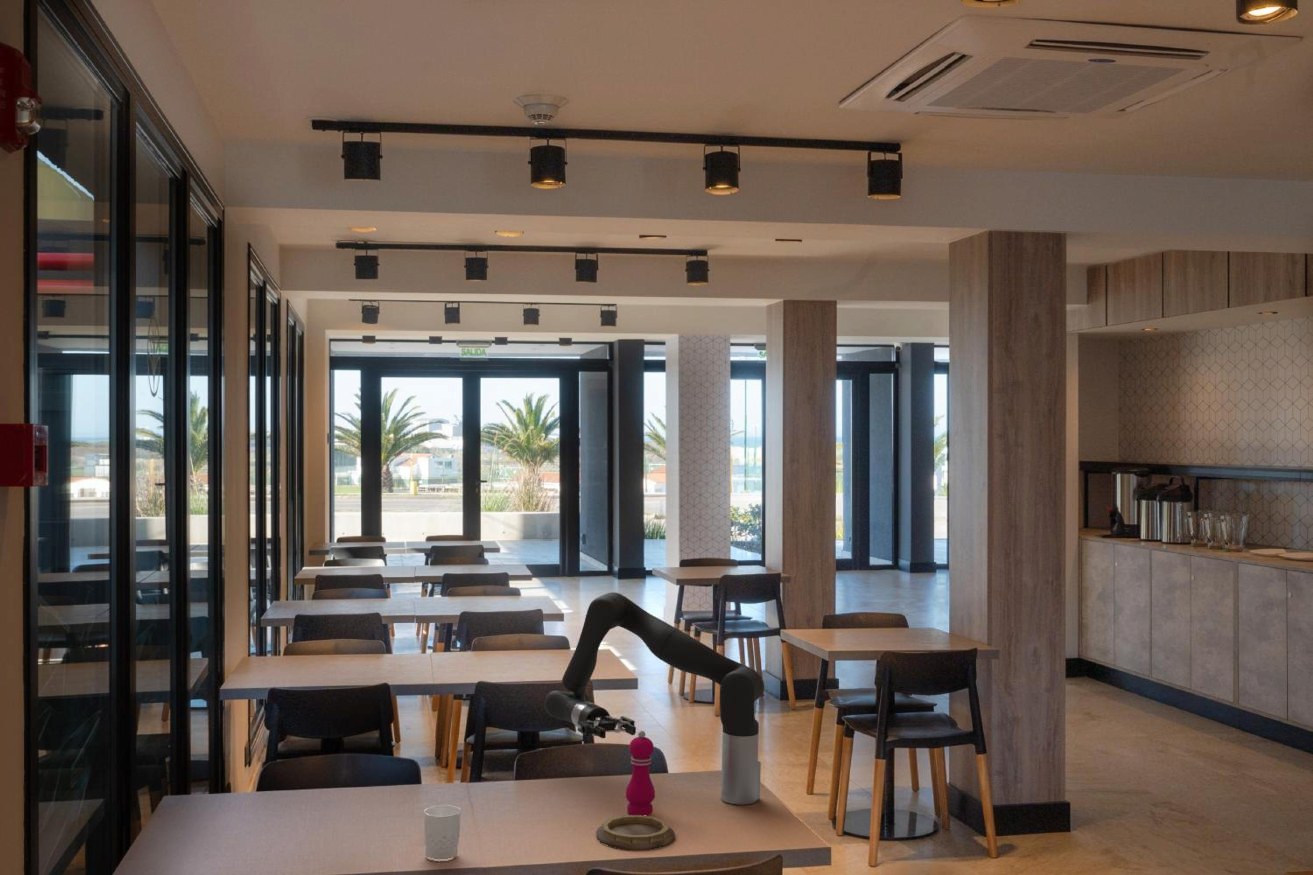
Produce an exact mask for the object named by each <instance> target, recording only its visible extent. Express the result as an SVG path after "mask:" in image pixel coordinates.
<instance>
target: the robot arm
mask: <svg viewBox="0 0 1313 875" xmlns="http://www.w3.org/2000/svg"><path fill="white" fill-rule="evenodd" d="M617 627H621V628H622V629H625V630H627V631H628V632H630V633H632V634H634V635H636V636H637V637H638V638H640V640H642V642H643V643H644V644H645V646H646V647H647V648H648V650H649V651H650V652H651V653H652V654H653V655H654V656H655V657H656V659H657V658H658V659H659V660H660V661H662V662H664V663H666V664H667V665H669V666H671V667H673V668H675V669H677V670H679V671H682V672H684V673H687V674H691V675H696V676H700V677H702V678H705V679H708V680H710V681H713V682H714V683H716V684H717V685H719V686H720V688H719V689H720V690H719V716H720V717H719V718H720V722H721V725H722V736H721V739H722V740H721V741H722V742H721V744H722V745H721V746H722V747H721V749H722V750H721V783H720V784H721V786H720V787H721V790H720V795H721V797H720V799H721V801H722V802H724V803H728V804H732V805H750V804H751V805H752V804H754V803H756V802H757V801H758V800H760V799H761V773H762V772H761V770H762V768H761V766H762V765H761V764H762V762H761V761H759V738H760V737H759V734H760V733H759V732H760V729H759V728H760V725H759V721H758V720H757V719H756V718H755V717H756V716H755V702H756V701H757V700H758V699H760V698H761V696H762V695H763V693H764V691H765V683H764V680H763V677H762V676H761V675H760V674H759V672H758V671H757V670H755V669H754V668H752V667H750V666H748V665H745V664H743V663H740V662H738V661H736V660H734V659H731V658H730V657H729V658H728V657H726V656H724V655H723V654H720V653H719V652H718V651H716V650H715V649H713V648H711V647H709V646H708V645H706V644H705V643H703V642H701V641H700V640H697V639H695V638H694V637H693V636H691V635H689V634H687V633H686V632H684V631H682V630H680V629H678V628H677V627H675V626H672V625H671V624H670V623H667V622H666V621H664V620H662V619H660V618H658V617H656V616H654V615H653V614H651V613H650V612H647V610H645V609H643V608H642V607H640V606H639V605H638V604H636V603H635V602H633V601H632V600H630V599H629V598H628V597H627V596H625V595H624V594H622V593H620V592H619V593H618V592H616V591H615V592H613V591H612V592H607V593H604V594H603V595H600V596H597V597H595V598H594V599H593V600H592V601H591V602H590V603H589V606H588V608H587V611H586V614H585V618H584V623H583V625H582V629H581V633H580V636H579V639H578V642H577V645H576V646H575V650H574V652H573V654H572V656H571V659H570V660H569V663H568V665H567V667H566V669H565V672H564V674H563V677H562V678H561V684H562V686H563V687H564V688H565V689H566V690H568V691H563V690H552V691H550V692H548V694H547V695H546V697H545V699H544V703H543V704H544V710H545V711H546V713H547V715H549V716H550V717H552V718H554V719H559V720H563V721H566V722H569V724H572V725H574V726H575V727H577V732H579V733H581V734H582V735H583V736H586V737H588V736H590V735H591V736H593V737H599V738H601V739H606V735H607V734H606V733H610V732H611V733H618V734H620V733H621V732H623V733H627V734H628V735H631V736H635V735H636V733H637V727H636V726H635V724H636V721H635V720H633V719H631V718H628V717H627V716H623V715H622V716H620V717H619V718H618V717H612V715H611V714H610V713H609V711H608V710H607V709H605V708H604V707H601V706H599V705H598V704H595V703H593V702H592V701H591V702H590V701H588V700H585V695H586V689H587V686H588V684H589V682H590V679H591V678H592V676H593V673H594V671H595V670H596V666H597V661H598V660H597V659H598V652H599V648H600V646H601V643H602V642H603V639H604V638H605V636H606V635H607V634H608V633H609V632H610V630H612V629H614V628H617Z"/></svg>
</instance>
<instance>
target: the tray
mask: <svg viewBox="0 0 1313 875" xmlns="http://www.w3.org/2000/svg"><path fill="white" fill-rule="evenodd" d="M595 834H596V836H595V837H597V838H596V839H598V840H599V841H600V842H599V841H598V840H597V841H598V842H599V843H601V844H602V843H604V844H606V845H608V846H607V847H609V846H611V847H610V848H613V847H616V848H615V849H617V848H620V849H619V850H623V849H624V850H625V851H649V850H656V849H655V848H657V849H660V848H659V847H661V848H665V847H667V846H669V845H670V843H671V844H672V843H673V842H674V841H675V831H674V829H673V828H672V827H670V825H669V824H668V822H667V821H665V820H663V819H661V818H658V817H654V816H650V815H648V816H642V815H630V814H628V815H625V814H624V815H619V816H614V817H611V818H607V820H605V821H604V822H603V823H602V824H601V825H600V826H599V827H597V829H596V832H595ZM673 840H674V841H673ZM604 844H603V845H604ZM606 845H605V846H606Z"/></svg>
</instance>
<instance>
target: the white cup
mask: <svg viewBox="0 0 1313 875" xmlns="http://www.w3.org/2000/svg"><path fill="white" fill-rule="evenodd" d="M461 815H462V810H461V808H460V807H458V806H456V805H449V804H448V805H447V804H441V805H432V806H430V807H427V808H425V809H424V812H423V819H424V820H423V822H424V824H423V826H424V828H423V829H424V830H423V831H424V832H423V833H424V846H425V857H426V856H427V857H430V858H434V859H448V858H452V857H455V856H457V857H458V850H459V842H460V829H461Z"/></svg>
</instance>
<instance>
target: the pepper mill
mask: <svg viewBox="0 0 1313 875" xmlns="http://www.w3.org/2000/svg"><path fill="white" fill-rule="evenodd" d="M628 749H629V753H630V754H631V757H630V763H631V765H632V774H631V778H630V781H629V782H628V785H627V786H626V790H625V798H626V800H627V802H628V804H627V807H626V808H627V809H626V810H627V811H626V813H629V814H628V815H630V814H631V815H642V816H644V815H648V816H650V814H651V813H652V812H654V807H653V806H654V805H653V804H652V802H653V801H654V800H655V797H656V791H655V787H654V784H653V782H652V780H651V779H652V778H651V776H650V765H651V764H652V756H651V755H652V754H653V753H654V743H653V741H652V740H651V739H650V738H648V737H646V732H645V730H640V731H639V732H638V733H637V736H636V737H635V738H633V739H632V740H631V741H630V742H629V747H628ZM652 814H653V813H652ZM652 814H651V815H652Z"/></svg>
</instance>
